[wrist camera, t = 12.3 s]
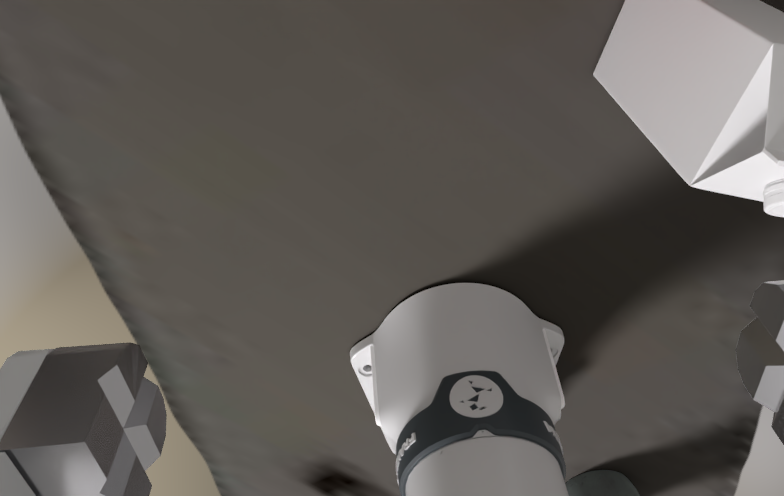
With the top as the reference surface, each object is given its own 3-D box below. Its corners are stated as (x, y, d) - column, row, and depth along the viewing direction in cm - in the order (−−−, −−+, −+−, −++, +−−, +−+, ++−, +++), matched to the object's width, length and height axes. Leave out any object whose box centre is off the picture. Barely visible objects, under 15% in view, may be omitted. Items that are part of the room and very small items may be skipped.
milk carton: (639, -38, 38) (834, 76, 23) (741, -10, 39) (992, 116, 24) (590, 74, 42) (729, 235, 27) (685, 95, 43) (869, 262, 28)
